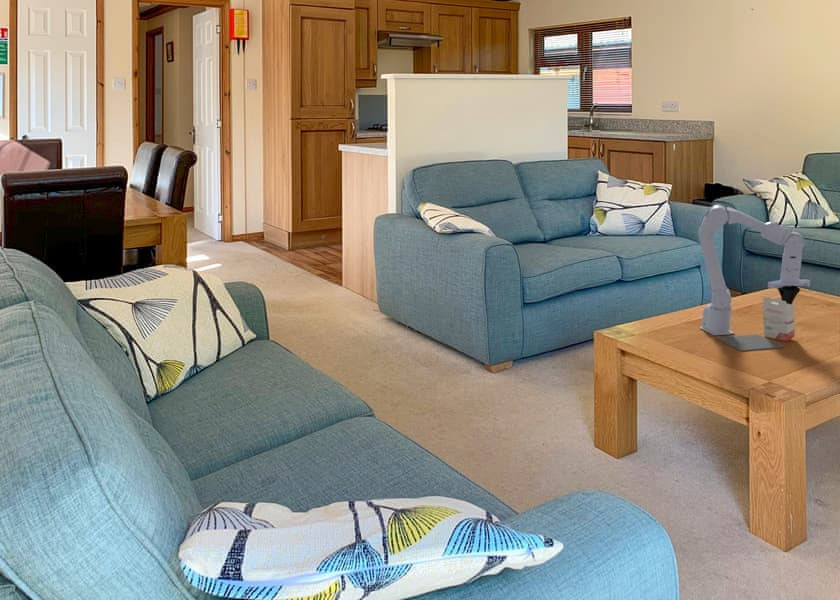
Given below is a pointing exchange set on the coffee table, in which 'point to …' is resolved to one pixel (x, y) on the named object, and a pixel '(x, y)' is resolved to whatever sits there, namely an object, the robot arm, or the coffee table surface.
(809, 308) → the coffee table surface
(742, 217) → the robot arm
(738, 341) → the mat
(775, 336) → the ink cartridge box
